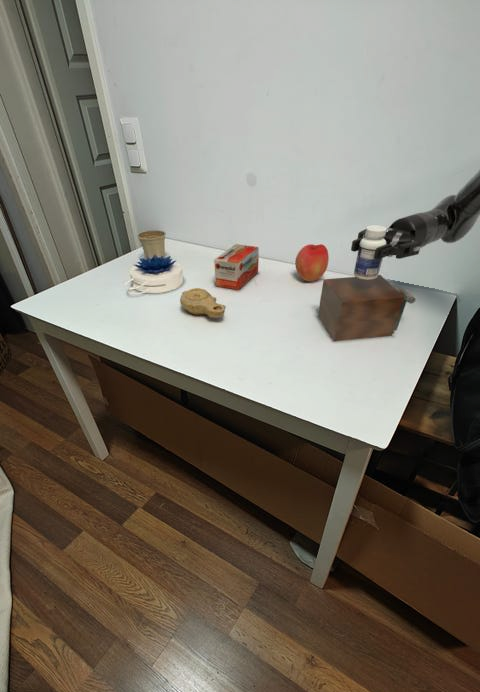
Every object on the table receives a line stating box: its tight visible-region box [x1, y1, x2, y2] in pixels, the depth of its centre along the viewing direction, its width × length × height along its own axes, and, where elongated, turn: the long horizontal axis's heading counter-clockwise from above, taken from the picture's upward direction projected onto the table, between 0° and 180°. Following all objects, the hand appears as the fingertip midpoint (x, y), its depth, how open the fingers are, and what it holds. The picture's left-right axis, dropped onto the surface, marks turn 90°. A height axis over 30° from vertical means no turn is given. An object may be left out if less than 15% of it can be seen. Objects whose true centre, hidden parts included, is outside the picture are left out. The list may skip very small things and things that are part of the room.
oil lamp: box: [179, 287, 227, 319], centre depth 90 cm, size 11×14×5 cm
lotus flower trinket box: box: [124, 255, 184, 295], centre depth 102 cm, size 7×16×20 cm
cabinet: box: [317, 274, 405, 342], centre depth 83 cm, size 15×13×10 cm
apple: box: [294, 243, 330, 282], centre depth 102 cm, size 10×10×10 cm
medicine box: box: [213, 243, 260, 291], centre depth 104 cm, size 15×8×8 cm, turn 155°
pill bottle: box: [353, 224, 387, 280], centre depth 74 cm, size 5×5×10 cm
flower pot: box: [136, 229, 167, 260], centre depth 116 cm, size 9×9×9 cm
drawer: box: [393, 287, 416, 332], centre depth 83 cm, size 18×11×8 cm, turn 99°
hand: (364, 250), depth 72 cm, fingers closed on pill bottle, 5 cm apart
